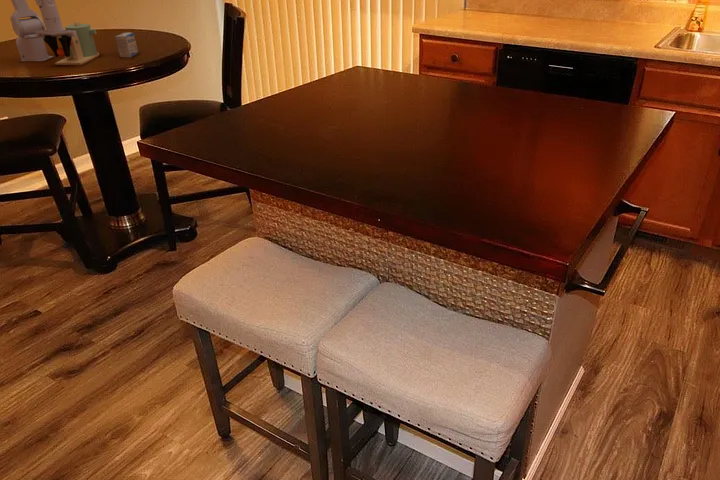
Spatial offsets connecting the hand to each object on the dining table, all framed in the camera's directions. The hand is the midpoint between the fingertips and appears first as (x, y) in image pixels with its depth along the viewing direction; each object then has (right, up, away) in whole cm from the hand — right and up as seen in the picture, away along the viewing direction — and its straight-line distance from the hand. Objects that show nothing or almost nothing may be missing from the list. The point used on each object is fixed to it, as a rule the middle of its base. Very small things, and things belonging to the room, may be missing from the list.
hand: (63, 56), depth 219 cm
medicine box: (+17, +6, +18) cm, 26 cm away
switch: (0, +3, +3) cm, 4 cm away
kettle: (+1, +6, +16) cm, 17 cm away
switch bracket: (0, +1, +9) cm, 9 cm away
